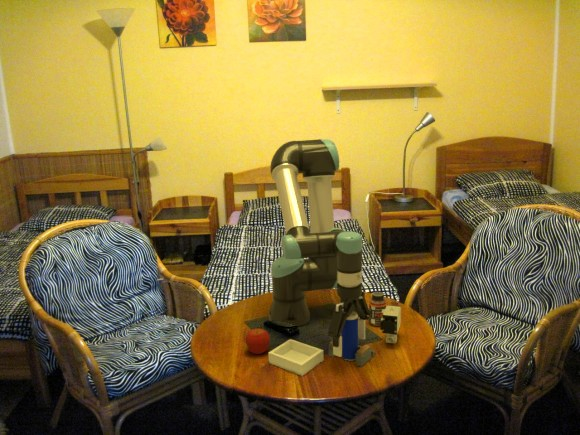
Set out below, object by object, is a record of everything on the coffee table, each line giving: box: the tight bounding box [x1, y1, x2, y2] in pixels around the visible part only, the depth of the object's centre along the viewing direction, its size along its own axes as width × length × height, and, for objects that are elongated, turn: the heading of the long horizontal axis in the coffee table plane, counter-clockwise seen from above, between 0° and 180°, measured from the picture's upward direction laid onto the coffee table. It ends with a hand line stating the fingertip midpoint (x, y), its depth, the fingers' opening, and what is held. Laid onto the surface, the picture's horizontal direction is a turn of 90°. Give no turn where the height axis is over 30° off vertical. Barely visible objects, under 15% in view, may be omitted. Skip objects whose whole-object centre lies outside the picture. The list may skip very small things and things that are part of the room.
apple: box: [245, 328, 271, 355], centre depth 176 cm, size 8×8×8 cm
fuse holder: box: [328, 339, 376, 368], centre depth 172 cm, size 12×8×5 cm, turn 51°
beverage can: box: [340, 311, 359, 362], centre depth 170 cm, size 5×5×15 cm
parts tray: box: [267, 338, 324, 377], centre depth 170 cm, size 13×11×4 cm
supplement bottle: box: [368, 291, 387, 327], centre depth 193 cm, size 6×6×11 cm
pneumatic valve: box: [379, 304, 402, 344], centre depth 180 cm, size 6×12×12 cm, turn 161°
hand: (349, 346), depth 171 cm, fingers open, 13 cm apart
